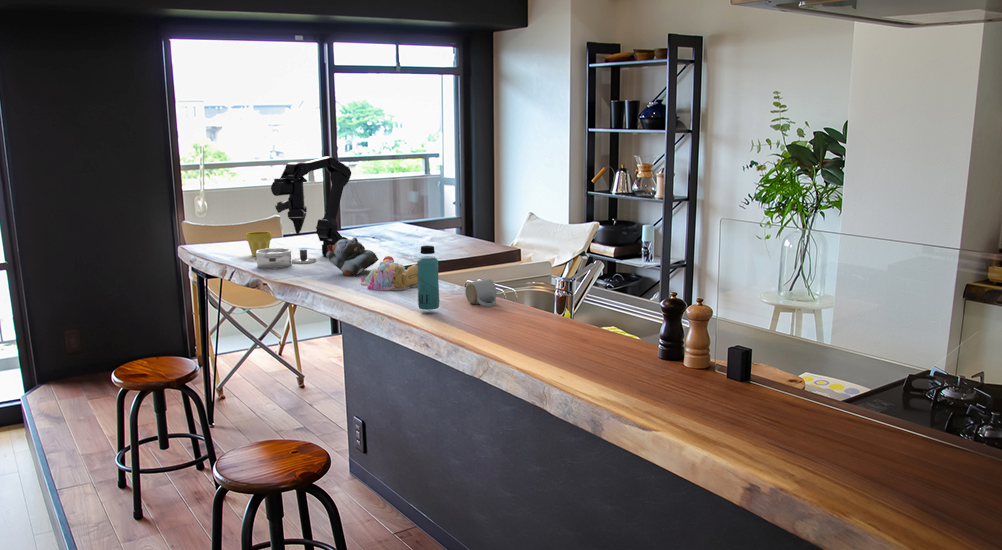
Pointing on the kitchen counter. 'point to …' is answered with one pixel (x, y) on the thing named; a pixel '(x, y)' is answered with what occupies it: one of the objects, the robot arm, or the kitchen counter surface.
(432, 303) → the beverage bottle
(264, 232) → the plant pot
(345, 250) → the grey teddy bear
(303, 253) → the lid
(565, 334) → the kitchen counter surface
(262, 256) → the pot
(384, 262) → the pastel plush toy
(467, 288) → the ceramic mug
